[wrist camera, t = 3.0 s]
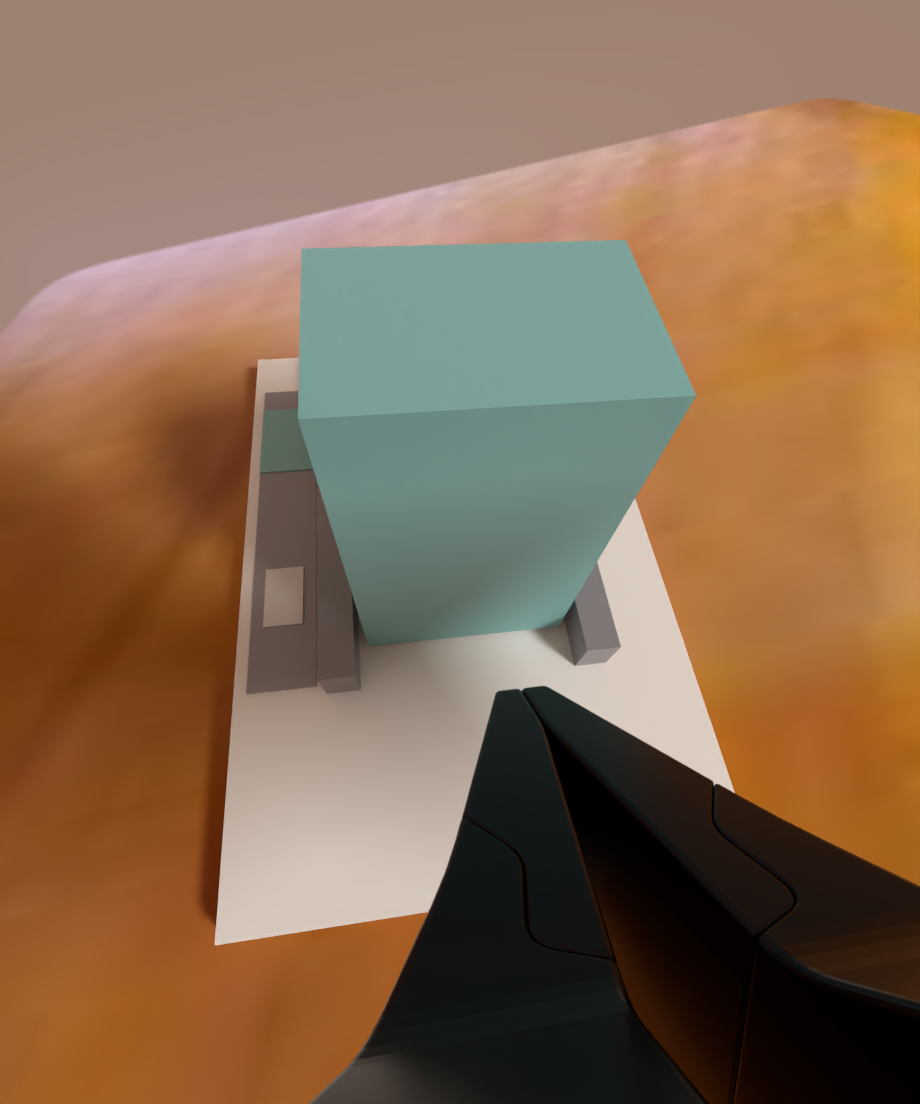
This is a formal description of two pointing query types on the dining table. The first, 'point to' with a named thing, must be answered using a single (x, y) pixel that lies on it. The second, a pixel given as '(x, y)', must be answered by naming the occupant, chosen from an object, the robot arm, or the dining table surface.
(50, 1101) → the dining table surface
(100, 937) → the dining table surface
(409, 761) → the white rail base plate
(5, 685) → the dining table surface
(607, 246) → the switch tab
